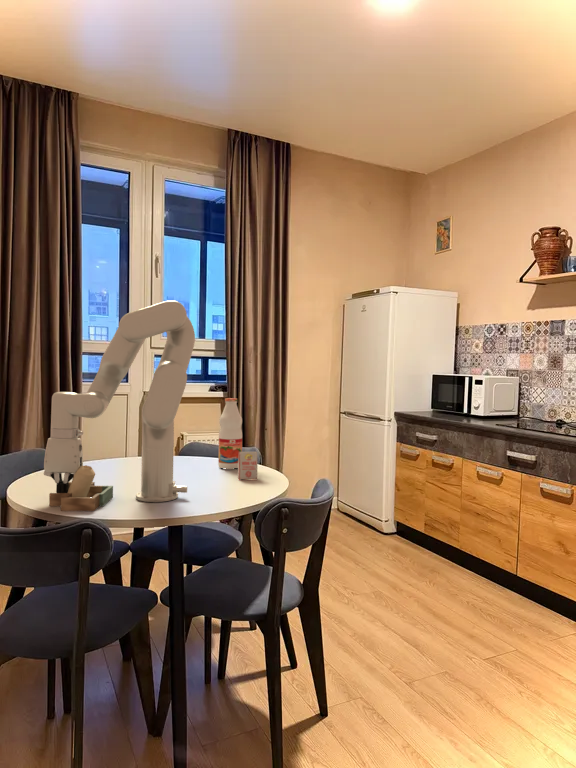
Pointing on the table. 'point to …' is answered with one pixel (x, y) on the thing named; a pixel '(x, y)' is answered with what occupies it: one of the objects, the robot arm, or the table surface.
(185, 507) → the table surface
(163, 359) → the robot arm
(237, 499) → the table surface
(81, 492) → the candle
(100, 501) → the wooden tray
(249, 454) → the white red box
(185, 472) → the table surface
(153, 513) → the table surface
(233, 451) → the fruit juice
